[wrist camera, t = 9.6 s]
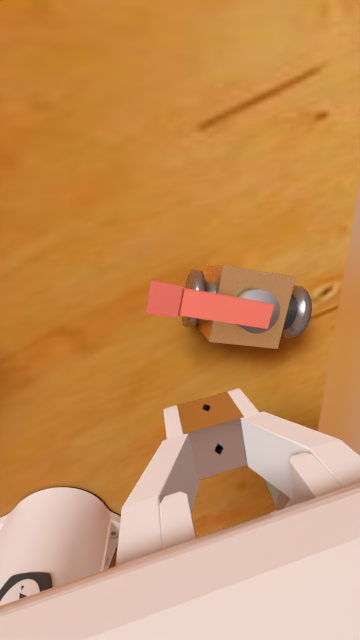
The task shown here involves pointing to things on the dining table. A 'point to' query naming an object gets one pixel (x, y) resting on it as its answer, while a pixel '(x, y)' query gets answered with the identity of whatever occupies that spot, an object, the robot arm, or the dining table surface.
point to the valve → (236, 283)
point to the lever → (215, 306)
